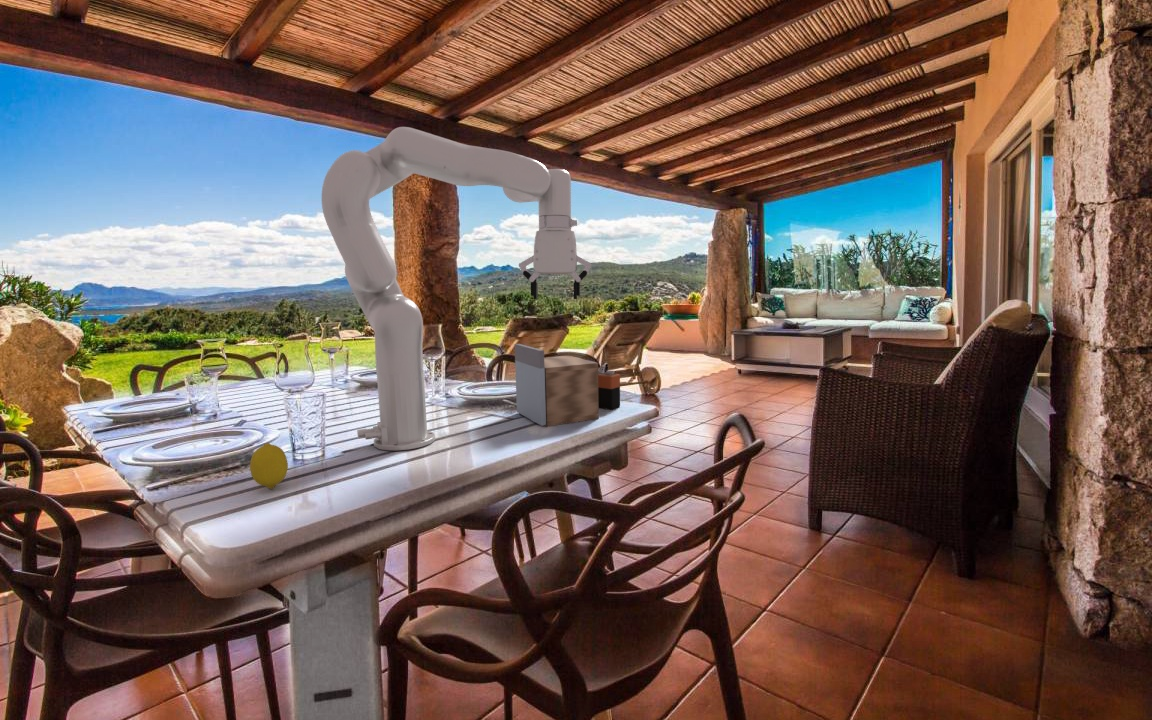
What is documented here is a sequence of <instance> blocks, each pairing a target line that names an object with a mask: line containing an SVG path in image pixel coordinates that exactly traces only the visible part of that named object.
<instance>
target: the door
mask: <svg viewBox="0 0 1152 720" xmlns="http://www.w3.org/2000/svg"><path fill="white" fill-rule="evenodd" d="M544 358H545V350H544V349H540V348H536V347H532V346H529V345H525V344H522V343H521V344H520V343H514V366H515V367H514V368H515V372H514V373H515V394H516V395H515V397H516V399H515V400H516V412H517V413H518V414H520V415H522V416H523V417H525V418H527V419H529V420H531V421H533V422H534V423H535V424H537V425H539V426H546V404H545V366H544Z"/></svg>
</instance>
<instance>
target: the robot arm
mask: <svg viewBox="0 0 1152 720" xmlns="http://www.w3.org/2000/svg"><path fill="white" fill-rule="evenodd" d="M413 174H416V175H418V176H423V177H426V178H430V179H434V180H437V181H441V182H444V183H448V184H451V185H454V186H459V187H476V186H493V187H499V188H502V191H503V193H504V195H505V196H506V197H507V198H508V199H509V200H510V201H512V202H515V203H519V204H521V203H532V202H538V230H536V232H535V237H534V245H533V246H534V247H533V255H532V256H530V257H528V258H527V259H525V260H522V261H521V262H519V263H518V267H519V269H520V271H521V273H522V274H523V276H524V277H525V278H526V279H527V280H528V282H530V296H532V297H533V300H537V299H539V294H538V292H539V291H538V290H539V289H538V287H539V286H538V285H539V284H538V282H537V279H538V278H539V277H540V275H571V277H572V278H573V279H574V282H573V299H574V300H578V297H580V296H581V295H580V294H581V281H582V280H584V278H585V277H586V276H587V275H588V273H589V271H590V269H591V267H592V263H591V262H589V261H588V260H586V259H584V258H582V257H580V256H578V253H577V251H578V250H577V240H576V234H575V231H574V230H572V228H573V227H578V219H576V220H575V219H573V218H572V182H571V181H572V178H571V174H570V172H568V171H567V170H565V169H561V168H547V167H546V166H545V165H544V164H543V163H541V162H539V161H538V160H536V159H534V158H531V157H527V156H525V155H521V154H517V153H514V152H512V151H507V150H502V149H496V148H490V147H489V148H488V147H482V146H478V145H477V146H476V145H468V144H465V143H460V142H459V141H458V142H457V141H454V140H451V139H449V138H445V137H442V136H439V135H435V134H432V133H430V132H426V131H423V130H420V129H416V128H413V127H409V126H399V127H396V128H394V129H393V130H391V131H390V132H389V133H388V135H387V136H386V138H385V139H384V141H383V142H380V143H379V144H378V145H376V146H374V147H372V148H371V149H369V150H367V151H365V152H364V151H362V150H355V149H353V150H348V151H346V152H344V153H342V154H341V155H340V156H339V157H337V158H336V160H335V161H333V163H332V164H331V166H330V167H329V169H328V171H327V173H326V174H325V176H324V179H323V184H322V186H321V187H322V189H321V209H322V213H323V216H324V220H325V222H326V226H327V227H328V230H329V232H330V234H331V236H332V238H333V240H334V243H335V245H336V247H337V250H338V251H339V254H340V256H341V259H342V260H343V262H344V264H345V265H344V273H345V278H346V280H347V283H348V285H349V287H350V289H351V291H352V293H353V295H354V297H355V299H356V301H357V302H358V304H359V306H360V308H361V310H362V312H363V314H364V316H365V319H366V320H367V322H368V324H369V326H370V327H371V329H372V330H373V332H374V345H375V346H374V353H375V354H374V355H375V356H374V357H375V371H376V372H375V373H376V381H377V395H378V407H379V409H378V410H379V421H377V425H374V426H372V428H371V427H370V428H360V429H357V430H356V431H357V439H358V440H359V439H365V440H366V441H367V440H372V439H373V446H374V447H375V448H377V449H378V450H381V451H384V450H385V451H392V452H393V451H396V452H397V451H406V450H413V449H414V450H415V449H419V448H423V447H426V446H428V445H431V444H432V443H434V442H435V440H436V435H435V433H434V432H432V431H431V430H428V423H427V408H426V406H427V405H426V390H425V389H426V387H425V373H424V372H425V371H424V362H423V361H424V358H423V357H424V356H423V355H424V354H423V352H424V351H423V343H424V342H423V339H424V338H423V337H424V336H423V335H424V321H423V315H422V313H421V310H420V308H419V307H418V305H417V304H416V303H415V302H414V301H413V300H412V299H410V298H409V297H406V296H405V295H404V293H403V290H401V286H400V285H399V282H398V280H397V267H396V263H395V261H394V259H393V258H392V256H391V253H390V252H389V251H388V249H387V248H388V247H387V246H386V244H385V243H384V241H383V238H382V237H381V235H380V232H379V229H378V227H377V226H376V223H375V220H374V218H373V216H372V211H371V209H370V199H372V198H374V197H376V196H377V195H380V194H381V193H384V191H386V190H388V189H390V188H392V187H394V186H396V185H397V184H399V183H401V182H403V181H404V180H405V179H407V178H409V177H410V176H412V175H413ZM578 263H579V264H580V265H582V266H584V268H583V270H582V272H581V273H579V274H578V273H577V270H578V269H577V268H578ZM530 264H532V266H533V270H534V272H533V273H532V274H531V273H530V272H529V270H528V268H527V266H529V265H530Z"/></svg>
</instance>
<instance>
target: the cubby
mask: <svg viewBox="0 0 1152 720" xmlns="http://www.w3.org/2000/svg"><path fill="white" fill-rule="evenodd" d="M544 366H545V404H546V425H545V426H546V427H552V426H553V427H554V426H559V425H565V424H572V423H579V422H578V421H580V422H586V421H585V420H587V421H592V419H593V420H598V419H599V411H600V410H599V409H600V408H599V407H598V370H599V363H598V362H596V361H591V360H587V359H584V358H580V357H575V356H572V355H561V356H560V355H558V356H548V357H547V356H546V357H544Z"/></svg>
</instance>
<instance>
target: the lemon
mask: <svg viewBox="0 0 1152 720" xmlns="http://www.w3.org/2000/svg"><path fill="white" fill-rule="evenodd" d="M249 464H250V466H249V468H250V469H249V472H250V474H251V477H252V478H253V480H254V481H255V483H256V484H258V485H260V486H262V487H266V488H268V489H270V490H271V489H274V488H275V487H276V486H277V485H278V484H279V483H281V482H282V481H283V480H284V479H285V477H286V476H287V473H288V467H289V465H288V464H289V463H288V459H287V455H286V453H285V452H284V450H283V449H282V448H281V447H279V446H277V445H275V444H270V442H266V443H264V444H263V445H261V446H260V447H258V448H257V449H256V450H255V451H254V452H253V453H252V456H251V458H250V462H249Z"/></svg>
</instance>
